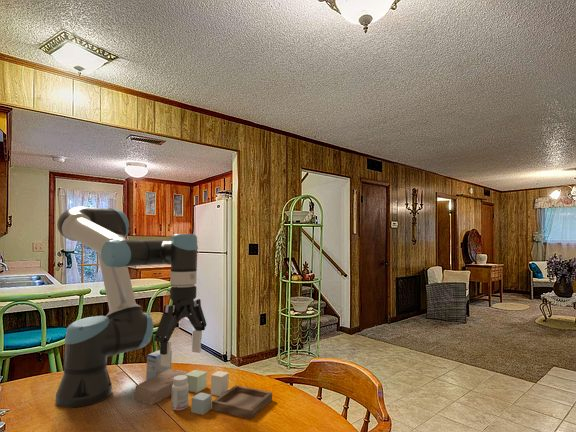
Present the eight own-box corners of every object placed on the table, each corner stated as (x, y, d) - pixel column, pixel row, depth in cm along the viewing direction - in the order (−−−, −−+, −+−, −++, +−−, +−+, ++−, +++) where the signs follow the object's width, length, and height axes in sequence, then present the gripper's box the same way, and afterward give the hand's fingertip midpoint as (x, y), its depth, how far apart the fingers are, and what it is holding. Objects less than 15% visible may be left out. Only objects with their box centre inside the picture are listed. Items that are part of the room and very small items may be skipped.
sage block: (184, 390, 117) (184, 374, 117) (194, 384, 122) (194, 369, 122) (197, 393, 115) (197, 377, 115) (206, 387, 120) (206, 371, 120)
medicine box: (161, 372, 132) (162, 348, 133) (171, 374, 131) (172, 349, 131) (145, 380, 125) (146, 354, 126) (155, 382, 123) (156, 356, 124)
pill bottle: (191, 404, 107) (191, 375, 108) (182, 411, 102) (183, 381, 103) (176, 402, 108) (177, 373, 109) (167, 409, 104) (168, 379, 104)
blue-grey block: (191, 412, 102) (191, 397, 103) (200, 406, 106) (200, 392, 106) (202, 415, 101) (203, 400, 101) (211, 409, 104) (211, 394, 105)
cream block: (210, 394, 114) (211, 374, 115) (217, 389, 118) (218, 370, 118) (221, 396, 113) (221, 377, 113) (228, 391, 116) (228, 372, 117)
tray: (211, 409, 104) (212, 401, 104) (235, 392, 116) (235, 385, 116) (251, 419, 99) (251, 410, 99) (272, 400, 111) (272, 392, 111)
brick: (153, 406, 106) (153, 389, 107) (132, 400, 110) (132, 384, 110) (189, 385, 122) (190, 371, 122) (170, 381, 125) (170, 367, 125)
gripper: (163, 291, 95) (161, 374, 93) (218, 281, 118) (217, 348, 116) (141, 289, 98) (139, 370, 96) (199, 280, 121) (198, 345, 119)
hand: (181, 358), depth 106 cm, fingers open, 13 cm apart
